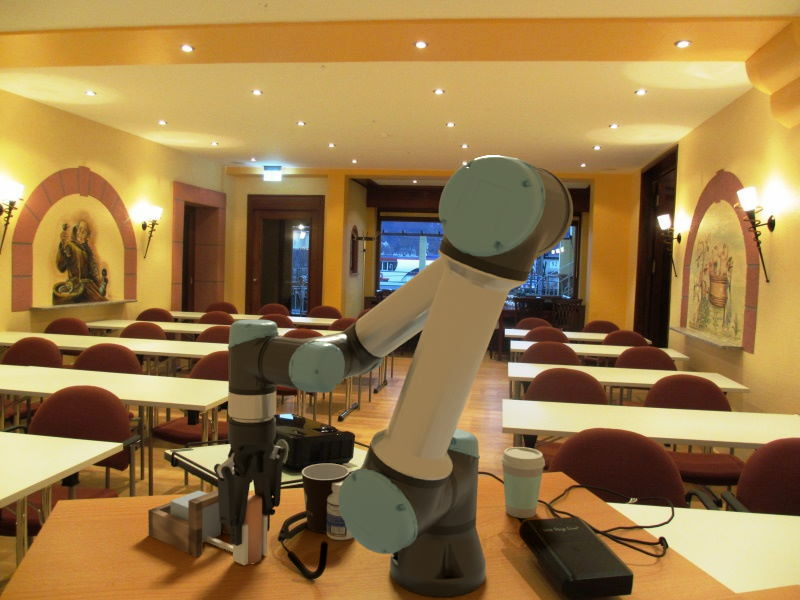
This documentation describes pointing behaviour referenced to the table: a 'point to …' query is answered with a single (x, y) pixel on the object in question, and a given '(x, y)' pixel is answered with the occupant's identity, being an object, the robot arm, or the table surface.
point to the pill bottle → (336, 516)
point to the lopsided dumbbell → (213, 524)
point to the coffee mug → (320, 491)
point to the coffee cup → (522, 480)
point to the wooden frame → (182, 524)
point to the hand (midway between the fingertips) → (250, 556)
